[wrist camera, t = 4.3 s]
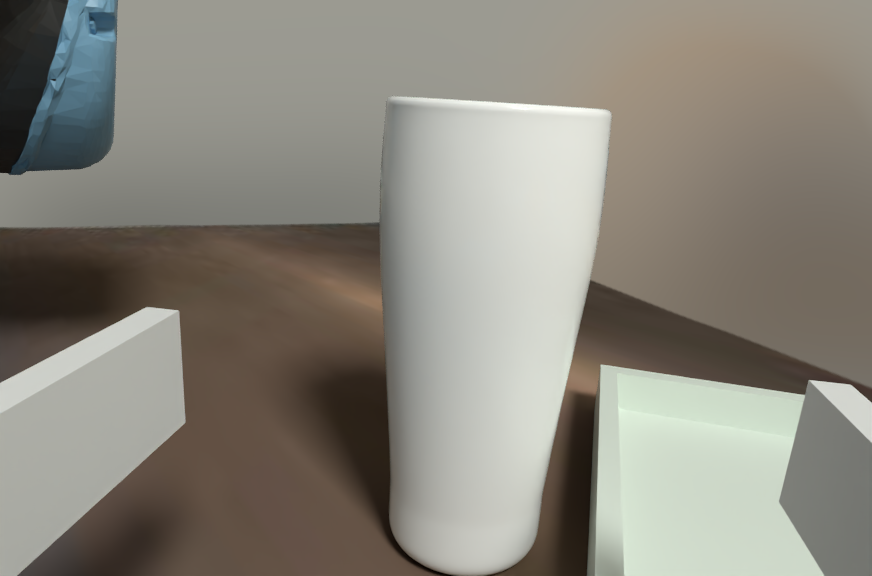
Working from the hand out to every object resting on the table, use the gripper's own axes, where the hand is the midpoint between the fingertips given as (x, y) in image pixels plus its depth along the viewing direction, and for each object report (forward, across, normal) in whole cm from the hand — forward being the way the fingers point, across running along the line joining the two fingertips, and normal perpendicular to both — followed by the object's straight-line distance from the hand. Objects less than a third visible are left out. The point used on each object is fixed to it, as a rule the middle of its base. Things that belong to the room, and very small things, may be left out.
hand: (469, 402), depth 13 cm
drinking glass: (+8, 0, -9) cm, 12 cm away
